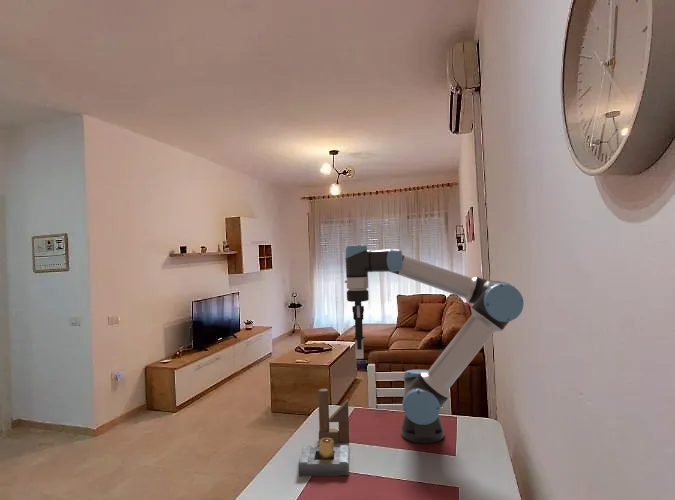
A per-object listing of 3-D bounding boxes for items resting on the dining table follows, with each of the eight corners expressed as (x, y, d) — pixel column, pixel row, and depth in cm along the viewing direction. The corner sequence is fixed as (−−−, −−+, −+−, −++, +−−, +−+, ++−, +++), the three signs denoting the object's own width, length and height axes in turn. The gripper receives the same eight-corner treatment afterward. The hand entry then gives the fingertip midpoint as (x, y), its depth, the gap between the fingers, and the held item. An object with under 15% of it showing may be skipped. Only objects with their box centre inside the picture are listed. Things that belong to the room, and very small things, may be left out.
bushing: (333, 462, 129) (333, 436, 129) (334, 470, 125) (334, 443, 125) (319, 463, 129) (319, 437, 129) (319, 470, 124) (319, 443, 124)
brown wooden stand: (349, 442, 143) (347, 391, 144) (318, 443, 144) (317, 391, 144) (349, 438, 147) (347, 387, 147) (319, 438, 147) (318, 388, 148)
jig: (349, 457, 132) (348, 445, 132) (348, 475, 121) (348, 461, 121) (303, 458, 133) (302, 445, 133) (298, 476, 122) (298, 462, 122)
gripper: (346, 288, 147) (349, 354, 146) (346, 291, 134) (348, 363, 133) (367, 288, 147) (369, 353, 146) (369, 290, 134) (371, 362, 133)
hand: (359, 358), depth 140 cm, fingers closed
